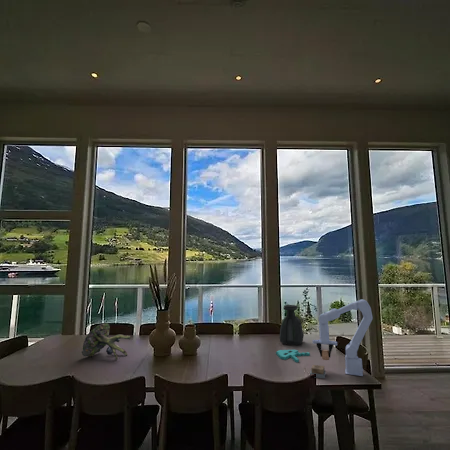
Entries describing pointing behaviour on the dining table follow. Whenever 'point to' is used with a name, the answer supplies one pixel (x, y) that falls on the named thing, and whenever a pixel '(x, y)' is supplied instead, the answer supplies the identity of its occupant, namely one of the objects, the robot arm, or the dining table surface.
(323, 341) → the robot arm
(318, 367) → the tower top slab
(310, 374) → the tower base slab
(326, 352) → the terracotta cylinder
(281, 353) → the teal keys
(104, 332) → the green textured branching piece
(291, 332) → the bottle
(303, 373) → the dining table surface
